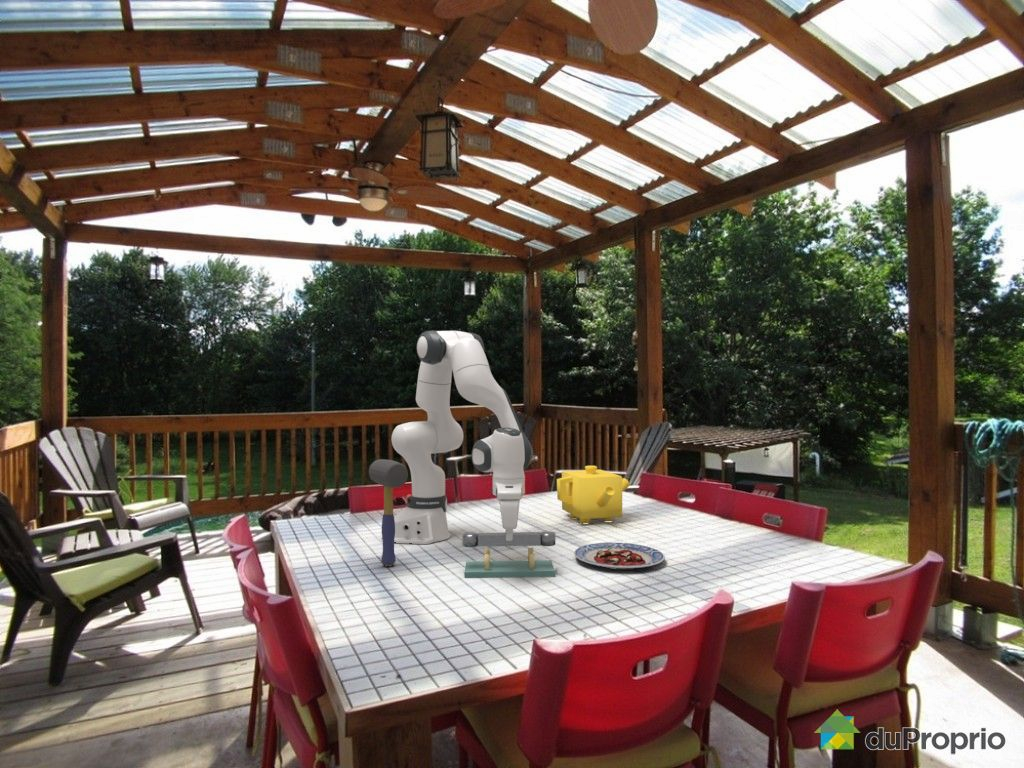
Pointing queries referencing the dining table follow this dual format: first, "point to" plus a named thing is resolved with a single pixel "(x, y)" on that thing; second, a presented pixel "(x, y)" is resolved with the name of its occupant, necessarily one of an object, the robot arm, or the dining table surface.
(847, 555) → the dining table surface
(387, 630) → the dining table surface
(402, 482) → the rubber mallet
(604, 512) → the yellow teapot
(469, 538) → the grey dumbbell
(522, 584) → the dining table surface
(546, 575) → the peg rack
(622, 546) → the ceramic plate
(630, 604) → the dining table surface
